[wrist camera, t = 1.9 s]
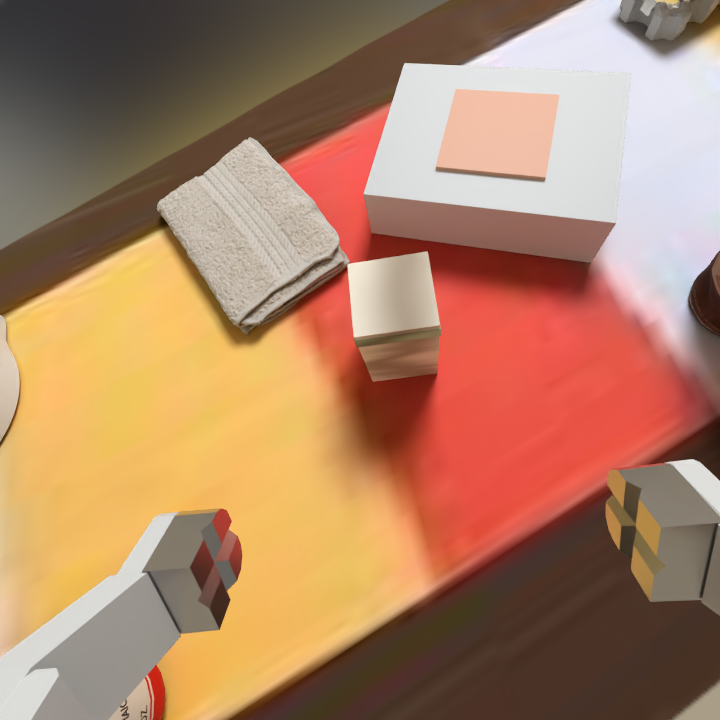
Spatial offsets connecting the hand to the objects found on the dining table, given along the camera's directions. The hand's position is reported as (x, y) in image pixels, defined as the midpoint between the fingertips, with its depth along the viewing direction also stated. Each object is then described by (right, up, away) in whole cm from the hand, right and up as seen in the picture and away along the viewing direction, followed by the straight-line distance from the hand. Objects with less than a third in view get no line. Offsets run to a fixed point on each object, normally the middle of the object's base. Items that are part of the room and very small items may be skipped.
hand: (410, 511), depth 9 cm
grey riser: (+10, +19, +29) cm, 36 cm away
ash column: (+2, +4, +25) cm, 25 cm away
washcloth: (-11, +14, +31) cm, 36 cm away
